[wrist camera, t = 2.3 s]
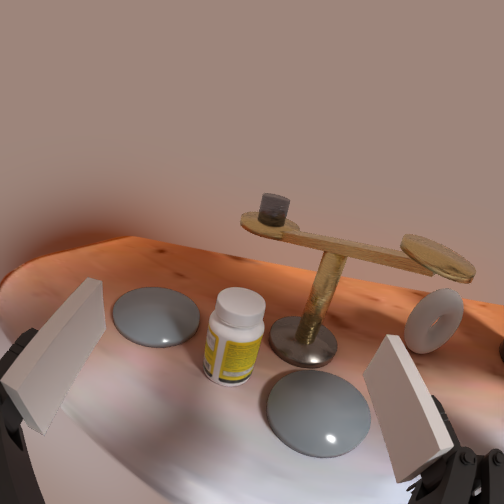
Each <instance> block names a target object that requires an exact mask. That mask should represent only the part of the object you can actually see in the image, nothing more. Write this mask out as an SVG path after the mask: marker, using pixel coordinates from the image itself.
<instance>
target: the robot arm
mask: <svg viewBox="0 0 504 504" xmlns="http://www.w3.org/2000/svg"><path fill="white" fill-rule="evenodd" d="M105 330H106V323H105V313H104V302H103V287H102V281H100V280H97V279H93V278H89V277H87V278H86V280H85V281H84V282H83V283H82V284H81V285H80V286H79V287H78V288H77V289H76V290H75V291H74V292H73V293H72V294H71V295H70V296H69V297H68V299H67V300H66V301H65V302H64V303H63V304H62V305H61V306H60V307H59V308H58V310H57V311H56V312H55V313H54V314H53V315H52V316H51V317H50V319H49V320H48V321H47V322H46V323H45V324H44V326H43V327H42V328H41V329H40V330H39V331H38V330H36V329H34V328H31V329H29V330H28V331H26V332H24V333H22V334H21V336H20V337H19V338H18V339H17V340H16V341H15V344H13V345H12V346H11V347H10V349H9V351H7V352H6V353H5V355H4V356H3V357H2V358H1V360H0V504H45V502H44V499H43V496H42V494H41V491H40V489H39V486H38V483H37V480H36V477H35V474H34V471H33V468H32V465H31V462H30V458H29V455H28V451H27V447H26V443H25V440H24V435H23V431H22V428H21V425H20V424H21V422H22V420H23V419H24V421H25V422H26V424H27V425H28V427H30V428H31V429H33V430H35V431H37V432H39V433H40V434H42V435H44V436H45V434H46V432H47V430H48V428H49V426H50V424H51V422H52V420H53V418H54V417H55V415H56V413H57V411H58V409H59V407H60V405H61V404H62V402H63V400H64V398H65V396H66V394H67V393H68V391H69V389H70V387H71V386H72V384H73V382H74V380H75V379H76V377H77V375H78V374H79V372H80V370H81V368H82V367H83V365H84V363H85V362H86V360H87V359H88V357H89V355H90V354H91V352H92V350H93V349H94V347H95V346H96V344H97V342H98V341H99V339H100V338H101V336H102V334H103V333H104V331H105ZM500 354H501V357H502V359H503V361H504V340H503V342H502V343H501V345H500ZM363 377H364V379H365V382H366V385H367V388H368V391H369V394H370V397H371V400H372V403H373V406H374V409H375V412H376V415H377V418H378V421H379V424H380V427H381V430H382V434H383V437H384V440H385V443H386V447H387V450H388V453H389V457H390V460H391V464H392V467H393V471H394V474H395V478H396V482H397V483H402V482H406V481H410V480H412V479H414V478H415V477H416V476H418V475H419V474H421V477H422V478H421V479H420V480H418V481H417V482H416V483H414V484H413V485H411V486H410V487H408V489H407V490H406V491H410V490H411V489H413V488H414V487H415V489H414V490H413V491H412V492H411V493H412V496H411V498H410V500H409V502H408V504H504V453H503V452H502V451H500V450H499V449H493V450H491V451H490V452H489V453H488V454H487V455H485V456H481V455H476V454H475V453H474V452H473V450H471V449H470V448H468V447H461V445H460V443H459V441H458V439H457V436H456V434H455V432H454V430H453V428H452V425H451V423H450V421H448V417H447V415H446V414H445V411H444V409H443V407H442V405H441V403H440V402H439V401H438V400H437V398H436V397H435V396H434V395H430V393H429V391H428V389H427V387H426V385H425V383H424V381H423V379H422V377H421V375H420V374H419V372H418V370H417V368H416V366H415V364H414V362H413V360H412V359H411V357H410V355H409V353H408V351H407V350H406V348H405V346H404V344H403V342H402V341H401V339H400V337H399V336H398V335H388V334H386V336H385V338H384V339H383V341H382V343H381V345H380V346H379V348H378V350H377V352H376V353H375V355H374V357H373V358H372V360H371V362H370V363H369V365H368V366H367V368H366V370H365V371H364V373H363ZM480 487H481V493H479V494H478V495H476V496H475V494H474V491H476V490H477V489H479V488H480Z"/></svg>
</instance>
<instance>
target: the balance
mask: <svg viewBox="0 0 504 504" xmlns="http://www.w3.org/2000/svg"><path fill="white" fill-rule="evenodd" d="M289 204H290V200H289V199H287V198H285V197H283V196H280V195H275V194H268V193H265V194H263V196H262V201H261V205H260V210H259V212H247V213H244V214H242V216H241V221H240V225H241V226H242V227H243V228H244V229H245V230H247V231H249V232H250V233H252V234H255V235H258V236H260V237H264V238H268V239H273V240H278V241H283V242H287V243H291V244H296V245H300V246H305V247H309V248H313V249H318V250H322V251H324V253H323V256H322V259H321V262H320V265H319V268H318V271H317V274H316V277H315V280H314V283H313V286H312V289H311V292H310V295H309V297H308V300H307V303H306V306H305V309H304V311H303V314H302V317H296V316H291V317H284V318H281V319H279V320H277V321H276V322H275V323H274V324H273V326H272V328H271V331H270V334H269V343H270V346H271V348H272V350H273V351H274V352H275V353H276V354H277V355H278V356H279V357H280V358H281V359H283V360H284V361H286V362H288V363H290V364H292V365H294V366H298V367H302V368H319V367H323V366H325V365H327V364H328V363H329V362H330V361H331V360H332V359H333V357H334V355H335V353H336V351H337V341H336V339H335V337H334V335H333V334H332V333H331V332H330V331H329V330H328V329H327V328H326V327H325V326H323V325H322V322H323V320H324V318H325V315H326V313H327V310H328V308H329V305H330V303H331V300H332V298H333V295H334V293H335V290H336V287H337V285H338V282H339V279H340V277H341V274H342V271H343V268H344V265H345V263H346V260H347V257H352V258H357V259H361V260H365V261H369V262H373V263H377V264H382V265H386V266H390V267H394V268H398V269H403V270H406V271H411V272H415V273H419V274H422V275H427V276H430V277H432V276H433V275H435V274H438V275H440V276H442V277H444V278H447V279H449V280H452V281H455V282H459V283H465V284H468V283H471V282H472V280H473V278H474V276H475V274H476V270H475V268H474V266H473V265H472V264H471V263H470V262H469V261H467V260H466V259H465V258H464V257H462V256H461V255H459V254H458V253H456V252H454V251H453V250H451V249H449V248H447V247H445V246H443V245H441V244H439V243H437V242H435V241H432V240H430V239H427V238H424V237H421V236H417V235H413V234H405V235H404V236H403V239H402V242H401V245H400V248H401V249H402V251H403V252H402V251H397V250H393V249H387V248H383V247H378V246H373V245H368V244H363V243H358V242H353V241H348V240H343V239H338V238H333V237H327V236H322V235H316V234H312V233H306V232H301V231H300V228H299V226H298V225H297V224H295V223H294V222H292V221H290V220H288V219H286V216H287V212H288V208H289Z"/></svg>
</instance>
